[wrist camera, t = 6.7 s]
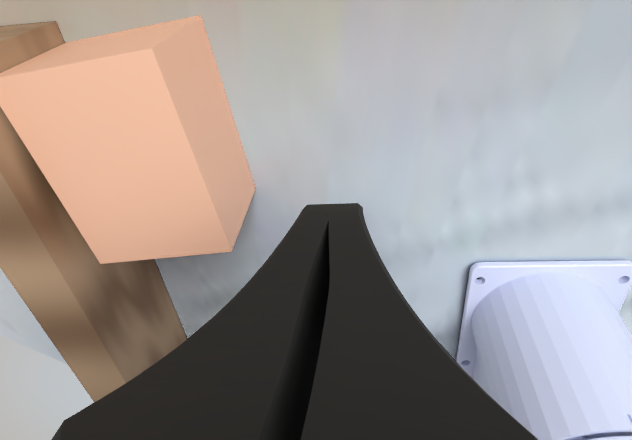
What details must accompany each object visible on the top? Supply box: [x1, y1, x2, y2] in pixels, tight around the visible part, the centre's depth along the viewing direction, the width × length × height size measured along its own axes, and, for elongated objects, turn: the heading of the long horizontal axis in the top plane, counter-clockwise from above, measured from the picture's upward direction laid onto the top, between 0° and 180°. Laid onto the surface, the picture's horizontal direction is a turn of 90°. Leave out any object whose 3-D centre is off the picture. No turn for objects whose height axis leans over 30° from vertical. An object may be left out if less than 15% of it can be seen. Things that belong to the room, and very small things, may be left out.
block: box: [0, 15, 256, 264], centre depth 18 cm, size 8×6×5 cm
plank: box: [0, 21, 187, 402], centre depth 22 cm, size 24×2×6 cm, turn 5°
